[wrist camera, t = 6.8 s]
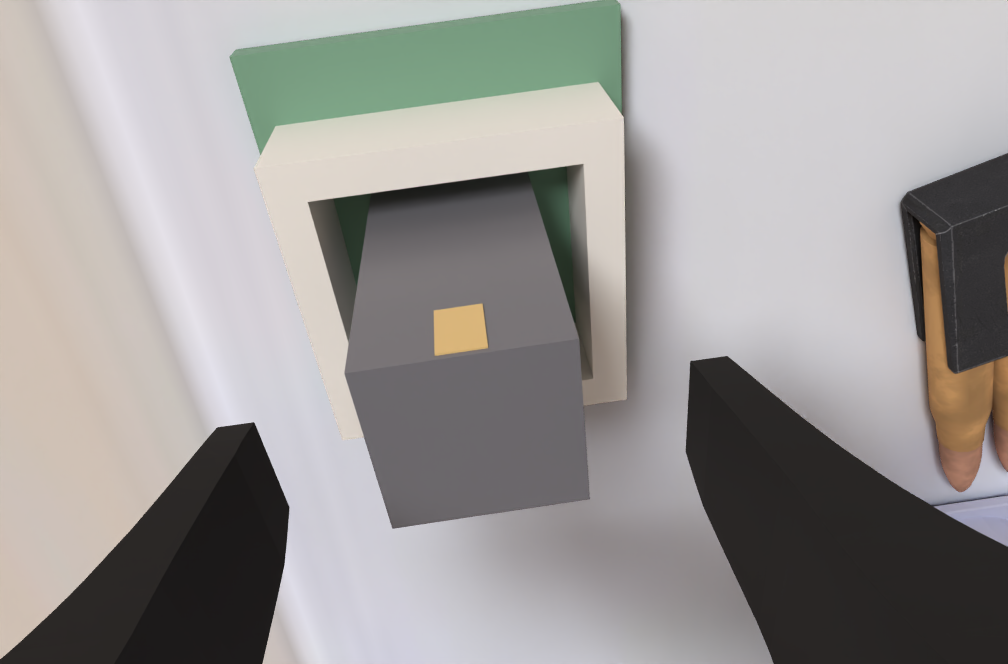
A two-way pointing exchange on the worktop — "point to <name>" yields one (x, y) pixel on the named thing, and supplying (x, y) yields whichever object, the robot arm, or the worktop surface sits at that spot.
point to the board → (447, 157)
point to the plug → (465, 354)
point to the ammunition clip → (963, 308)
